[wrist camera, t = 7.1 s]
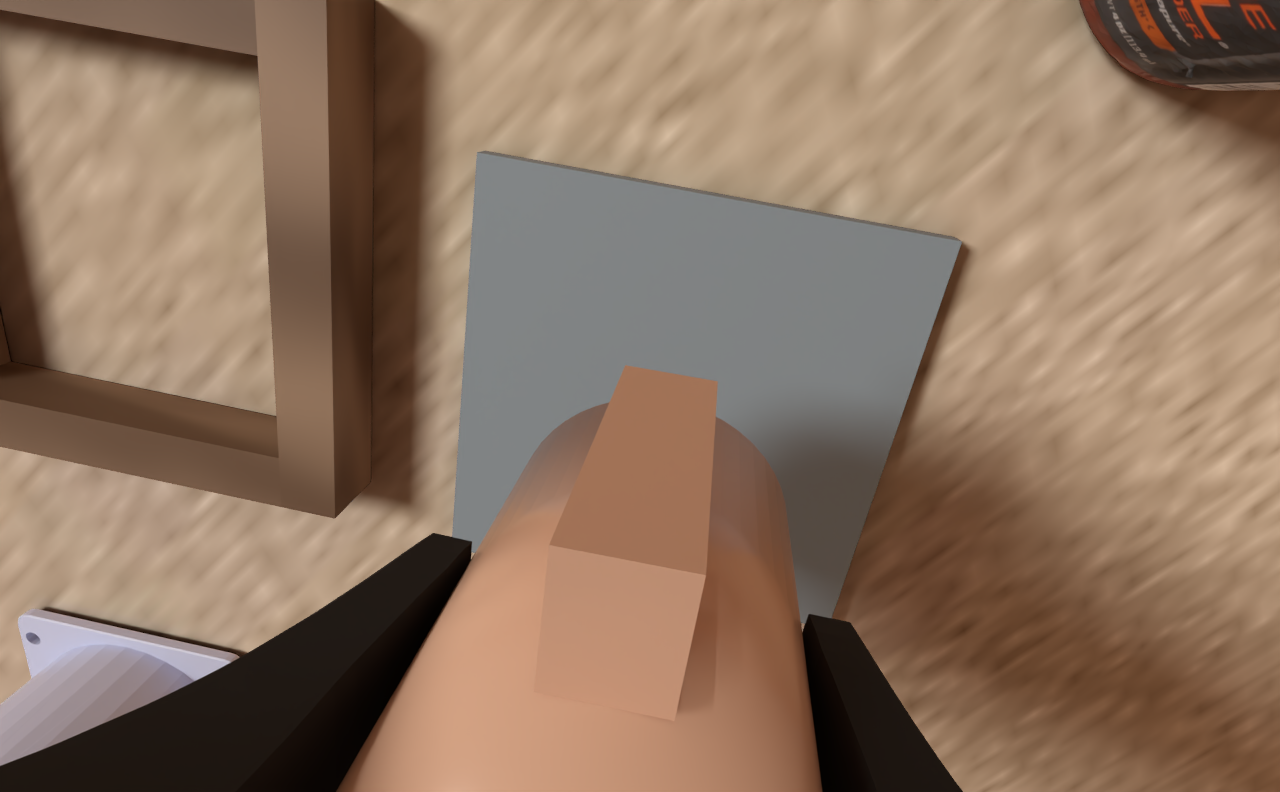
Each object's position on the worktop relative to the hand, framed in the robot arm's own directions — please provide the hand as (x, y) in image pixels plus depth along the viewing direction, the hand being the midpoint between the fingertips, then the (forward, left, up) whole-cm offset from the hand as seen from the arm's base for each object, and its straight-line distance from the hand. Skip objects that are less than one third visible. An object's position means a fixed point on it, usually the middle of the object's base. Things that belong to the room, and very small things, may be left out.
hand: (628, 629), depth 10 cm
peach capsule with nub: (0, 0, -3) cm, 3 cm away
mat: (0, 0, -8) cm, 8 cm away
